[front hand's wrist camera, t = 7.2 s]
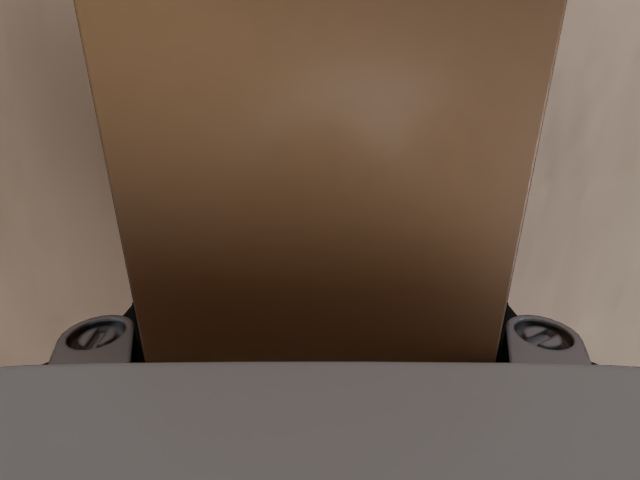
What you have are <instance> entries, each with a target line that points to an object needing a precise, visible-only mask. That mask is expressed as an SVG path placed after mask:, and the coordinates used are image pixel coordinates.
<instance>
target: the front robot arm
mask: <svg viewBox="0 0 640 480" xmlns="http://www.w3.org/2000/svg"><path fill="white" fill-rule="evenodd" d="M0 480H640V367H631V366H615V365H598V364H595V363H593V362H591V360H590V358H589V355H588V353H587V350H586V348H585V345H584V343H583V340H582V339H581V338H580V336H579V335H578V334H577V333H576V332H575V331H574V330H572V329H571V328H570V327H568V326H566V325H564V324H562V323H560V322H558V321H555V320H552V319H549V318H545V317H541V316H534V315H519V316H517V315H516V314H515V313H514V311H513V310H512V309H511V308H510V307H509V305H508V302H507V306H506V311H505V316H504V321H503V326H502V331H501V336H500V341H499V346H498V351H497V356H496V361H495V363H467V362H171V363H145V359H144V354H143V349H142V344H141V339H140V334H139V329H138V324H137V318H136V313H135V308H134V303H132V306H131V307H130V308H129V309H128V311H127V312H126V313H125V314H124V315H123V316H121V315H106V316H99V317H95V318H91V319H88V320H85V321H82V322H80V323H78V324H76V325H74V326H72V327H70V328H69V329H68V330H66V331H65V332H64V333H63V334H62V335H61V336H60V338H59V339H58V340H57V343H56V345H55V348H54V350H53V353H52V355H51V358H50V360H49V362H47V363H45V364H42V365H23V366H9V367H0Z"/></svg>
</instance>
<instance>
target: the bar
mask: <svg viewBox="0 0 640 480" xmlns="http://www.w3.org/2000/svg"><path fill="white" fill-rule="evenodd" d="M73 1H74V6H75V11H76V16H77V21H78V26H79V31H80V36H81V41H82V46H83V51H84V56H85V61H86V66H87V71H88V76H89V81H90V86H91V91H92V96H93V101H94V107H95V112H96V117H97V122H98V127H99V132H100V137H101V142H102V147H103V152H104V157H105V162H106V167H107V172H108V177H109V182H110V187H111V192H112V197H113V202H114V207H115V213H116V218H117V223H118V228H119V233H120V238H121V243H122V248H123V253H124V258H125V263H126V268H127V273H128V278H129V283H130V288H131V293H132V298H133V303H134V308H135V313H136V318H137V324H138V329H139V334H140V339H141V344H142V349H143V354H144V359H145V363H171V362H467V363H495V361H496V356H497V351H498V346H499V341H500V336H501V331H502V326H503V321H504V316H505V311H506V306H507V301H508V296H509V291H510V286H511V281H512V276H513V271H514V266H515V261H516V255H517V250H518V245H519V240H520V235H521V230H522V225H523V220H524V215H525V210H526V205H527V200H528V195H529V190H530V185H531V180H532V175H533V170H534V165H535V160H536V155H537V150H538V145H539V140H540V135H541V130H542V125H543V120H544V115H545V110H546V104H547V99H548V94H549V89H550V84H551V79H552V74H553V69H554V64H555V59H556V54H557V49H558V44H559V39H560V34H561V29H562V24H563V19H564V14H565V9H566V4H567V0H73Z"/></svg>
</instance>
